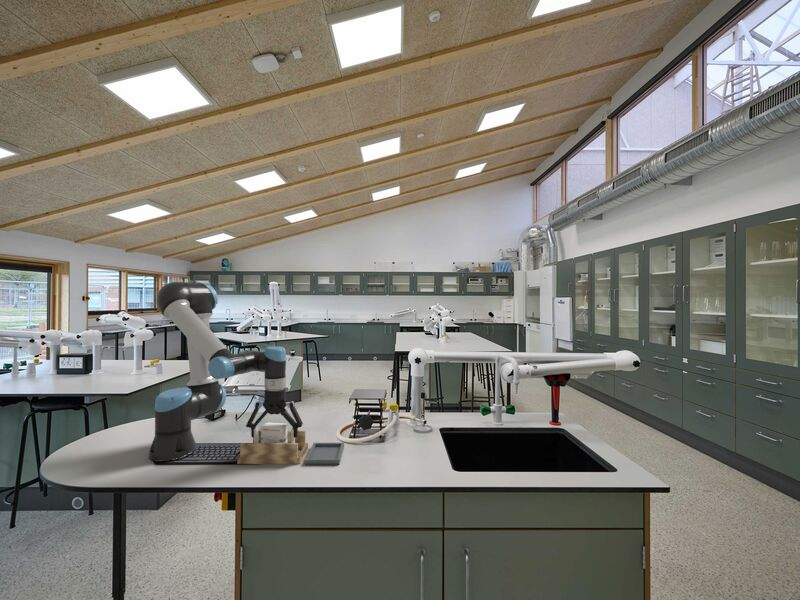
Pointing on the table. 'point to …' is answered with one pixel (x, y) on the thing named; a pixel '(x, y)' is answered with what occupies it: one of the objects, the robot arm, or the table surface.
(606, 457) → the table surface
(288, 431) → the rack
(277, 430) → the ink box
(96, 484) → the table surface
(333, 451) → the tray
